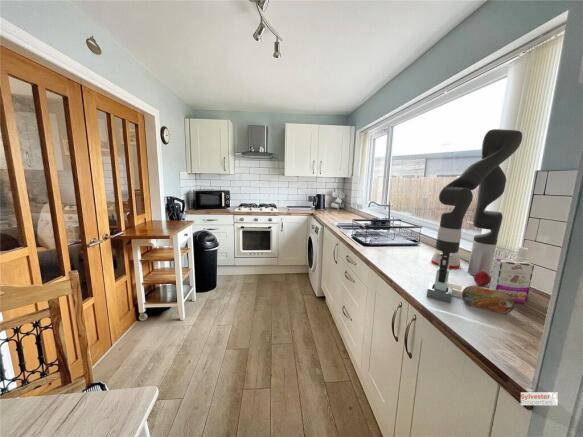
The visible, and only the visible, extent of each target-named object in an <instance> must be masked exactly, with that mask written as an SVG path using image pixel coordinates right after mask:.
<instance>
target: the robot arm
mask: <svg viewBox="0 0 583 437" xmlns="http://www.w3.org/2000/svg"><path fill="white" fill-rule="evenodd" d="M522 140H523V133H522V131H520V130H516V129H515V130H514V129H499V128H497V129H496V128H493V129H489V130H488V131H487V132H486V133H485V135H484V137H483V139H482V144H481V159H480V160H477V161H475V162H473V163H472V164H470V165H469V166H467V168H465V170H464V171H463V172H462V173H461V175H459V177H457V178H456V179H454V180H453V181H451V182H449V183H448V184H446V185H445V186H444V187H443V188H442V189H441V190H440V191H439V194H438V200H439V202H440V203H441V204H442V205H445V206H451V207H452V206H453V209H452V210H451V211H444V212H442V213H441V214H440V223H439V228H438V230H437V238H436V241H435V242H436V244H435V250H436V249H437V250H439V251H442V252H443V253H442V254H441V253H440V256H439V259H440V261H439V266H438V267H440V268H439V278H438V282H441V283H445V278H446V273H447V269H449V265H450V261H451V258H452V255H450V253H457V252H458V253H459V249H460V244H461V237H462V226H463V222H464V217H465V216H466V214H467V211H468V209H469V207H470V206H471V204H472V202H473V198H474V195H473V192H472V191H473V190H476V189H477V188H478V189H477V198H476V199H477V202H476V206H475V210H474V213H473V222H472V223H473V226H474V227H475V228H478V229H482V230H489V232H485V233H481V234H476V235H474V236H473V239H472V240H473V241H472V246H471V250H470V251H471V252H470V256H469V262H468V267H467V273H468V274H470V275H472V276H474V275H475V274H476V273H478V272H481V271H482V270H485V272H486V273H487V274H488V275H489V277H490V278H491V275H492V271H493V266H494V260H495V254H496V248H497V243H498V236H499V232H500V229H501V225H502V223H503V222H502V221H503V213H502V212H501V211H496V210H495V211H494V210H493V211H492V210H486V208H488V206H489V205H491V204H492V203H494V202H495V201H497V199H499V198H500V197H501V196H502V195H503V194H504V192H505V189H506V184H507V177H506V174H505V172H504V171H503V169H502V168H501V167H500V165H501V164H502V163H503V162H505V161H506V160H507V159H508V158H510V157H511V156H513V154H514V153H515V152H517V150H518V149H519V147H520V146H521V143H522ZM441 268H443V269H445V271H444V270H441Z"/></svg>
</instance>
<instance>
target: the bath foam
mask: <svg viewBox="0 0 583 437" xmlns="http://www.w3.org/2000/svg"><path fill="white" fill-rule="evenodd" d="M528 254H529V248H527V247H523V246H520V247H518V251H517V255H516V256H514V257H513V258H512V259H511V260H520V261H527V262H529V263H531V262H530V260H529V258H528Z"/></svg>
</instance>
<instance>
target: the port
mask: <svg viewBox="0 0 583 437" xmlns="http://www.w3.org/2000/svg"><path fill="white" fill-rule="evenodd" d="M434 286H435V282H432V281H430V282H429V283H428V287H427V291H426V297H427V298H428V299H433V300H436V301H439V302H443V303H445V304H451V300H452V296H453V295H452V287H448V286H447V288H446V292H445V291H441V290H437V289H434Z"/></svg>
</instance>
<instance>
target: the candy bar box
mask: <svg viewBox="0 0 583 437" xmlns="http://www.w3.org/2000/svg"><path fill="white" fill-rule="evenodd" d="M529 262H530V261H529ZM529 262H527V261H520V260H512V259H506V258H497V257H496V258H495V257H494V259H493V265H492V270H491V276H490V282H489V288H490V289H495V290H500V291H503V292H505V293H507V294H508V295H509V296H510V297H511V298H512V299H513V301H514V303H519V304H527V302H528V296H529V293H530V289H531V288H530V287H531V283H532V277H533V273H534V268H535V264H534V263H531V262H530V263H529Z"/></svg>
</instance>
